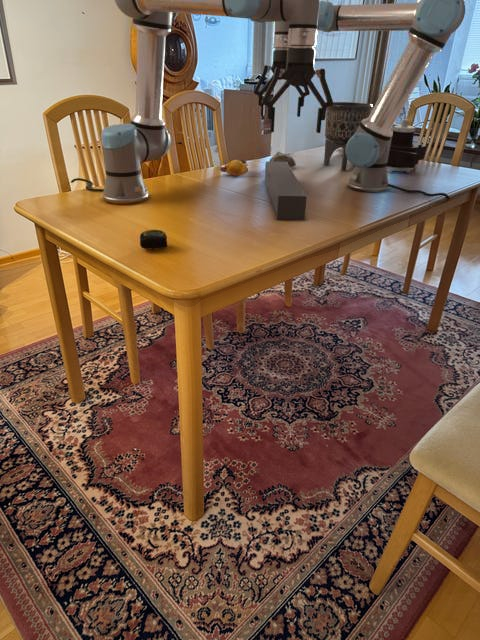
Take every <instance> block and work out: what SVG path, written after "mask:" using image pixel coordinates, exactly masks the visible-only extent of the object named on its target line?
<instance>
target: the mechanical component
mask: <svg viewBox="0 0 480 640" xmlns="http://www.w3.org/2000/svg"><path fill="white" fill-rule="evenodd" d="M409 123H410V119H402V120H401V124H399V125H397V124H396V125H393V126H392V127H393V136H392V139H391V145H390V151H389V156H388V162H387V168H386V170H387V171H388V172H389V173H393V171H396V172H405V174H410V172H411V171H413V170H415V168H417V167H418V166H419V161H422V160H424V159H425V157H426V154H427V149H428V148H427V147H428V145H425V144H423V143H421V142H417V141H414V137H415V132H416V126H412V125H409Z"/></svg>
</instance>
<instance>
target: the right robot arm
mask: <svg viewBox="0 0 480 640" xmlns="http://www.w3.org/2000/svg"><path fill="white" fill-rule="evenodd" d="M465 14H466V4H465V1H464V0H419V1H418V2H399V3H372V4H371V3H369V4H365V3H364V4H342V5H341V4H340V5H339V4H333V3H332V2H331V1H325V0H320V4H319V14H318V23H317V31H319V32H320V31H321V32H324V33H331V32H398V31H399V32H403V31H404V32H407V34H408V39H409V40H408V43H406V46H405V48H404V50H403V52H402V54H401V55H400V58H399V60H398V61H397V63H396V64H395V67H394V69H393V71H392V72H391V74H390V76H389V78H388V80H387V82H386V84H385V86H384V87H383V90H382V91H381V92H380V95H379V97H378V99H377V100H376V102H375V104H374V106H373V107H372V112H371V113H370V115H369V117H368V118H366V119H363V120H362V121H361V123H360V125H359V127H358V128H357V130H356V132H355V134H354V135H353V136H352V137H351V138H350V139H349V141H348V142H347V145H346V150H345V152H346V157H347V159H348V160H347V162H349V163H350V164H351V165H352V166H353V171H351V174H350V176H349V179H348V182H347V187H348V188H349V189H351V190H354V191H358V192H363V193H364V192H365V193H382V192H386V191H388V189H389V188H392V189H395V190H398V191H401V192H405V193H408V194H409V193H410V194H421V195H423V196H425V197H426V196H427V197H439V196H441V197H444V198H445V199H451V198H450V196H449V194H447V193H445V192H436V193H429V192H426V191H424V190H420V189H406V188H403V187H400V186H397V185H394V184H390V183H389V178H388V173H387V172H388V169H386V168H387V162H388V156H389V151H390V145H391V139H392V136H393V127H394V124H395V122H396V121H397V119H398V118H399V116H400V115H401V112H402V110H404V107H405V105H406V103H407V102H408V100H409V99H410V97H411V95H412V93H413V91H414V89H415V88H416V86H417V85H418V82H419V81H420V80H421V77H422V76H423V74H424V72H425V71H426V69H427V67H428V65H429V63H430V62H431V60H432V58H433V57H434V55H435V54H436V53H438V52H441V51H443V49H444V48H445V46H446V44H447V42H448V41H449V39H450V37H451V36H452V34H454V33H455V32H456V31H457V30H458V28H459V27H460V26H461V25H462V23H463V21H464V18H465ZM273 33H274V34H273V49H274V50H273V52H272V65H267V64H264V65H263V68H262V73H261V75H260V77H259V79H258V81H257V83H256V85H255V87H254V90H253V94H254V95H256V96H257V97H258V98H257V104H258V107H260V116H261V117H264V108H265V105H264V104H262V99H263V97H264V95H265V93H266V91H267V89H268V87H269V85H270V83H271V81H272V79H273V77H274V72H275V68H279V69H285V68H286V65H287V50H288V49H289V48H290V46H288V34H289V21H288V22H285V21H279V22H274V32H273ZM270 71H271V72H272V73H273V74H272V76H271V77H270V78H269V80H268V81H267V82H266V83H265V84H264V86H263V87H262V88H261V86H262V84H263V83H264V80H265V78H266V76H267V73H269V72H270ZM281 80H284V81H286V80H287V78H286V76H285V74H282V76H281V77H279V78H278V81H281ZM260 88H261V89H260ZM294 88H295V90H296V91H297V92H298V94H299V96H298V98H297V110H296V117H297V118H300V117H301V111H302V110H301V109H302V108H303V107H304V106H305V98H306V97H307V96H310V95H311V92H310V88H309V87H308V86H307V85H306V86H305V87H301V86H294ZM302 88H303V89H302ZM303 90H304V91H303Z"/></svg>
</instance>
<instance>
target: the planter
mask: <svg viewBox="0 0 480 640" xmlns="http://www.w3.org/2000/svg"><path fill="white" fill-rule="evenodd" d="M333 103H334V104H333V105H332V106H329V107H327V109H326V117H325V124H324V125H325V126H324V139H325V144H324V156H323V157H324V158H323V165H325V166H328V165H330V163H331V158H332V156H333V154H334V153H335V152H336V150H337V149H338V148H340V147H342V153H341V166H340V170H341V172H345V171H347V167H348V166H347V165H348V159H347V157H346V152H345V150H346V145H347V142H348V141H349V139H350V138H351V137H352V136H353V135H354V134H355V132H356V130H357V128H358V127H359V125H360V123H361V121H362V120H363V119H366V118H368V117H369V115H370V113H371V112H372V110H373V108H374V106H373V104H372V103H367V102H353V101H333Z"/></svg>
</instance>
